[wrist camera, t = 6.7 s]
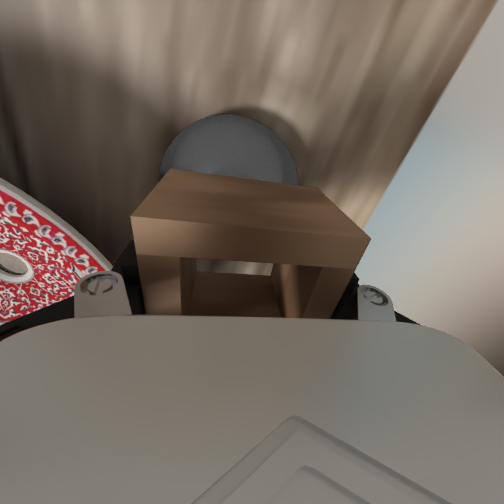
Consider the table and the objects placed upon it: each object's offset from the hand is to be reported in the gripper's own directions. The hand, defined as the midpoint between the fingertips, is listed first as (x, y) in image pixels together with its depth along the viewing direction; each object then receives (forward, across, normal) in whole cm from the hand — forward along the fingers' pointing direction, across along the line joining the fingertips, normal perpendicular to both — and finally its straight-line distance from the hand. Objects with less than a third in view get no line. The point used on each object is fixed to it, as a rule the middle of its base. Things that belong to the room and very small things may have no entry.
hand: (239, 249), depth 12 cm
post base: (+11, 0, 0) cm, 11 cm away
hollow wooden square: (+1, 0, 0) cm, 1 cm away
